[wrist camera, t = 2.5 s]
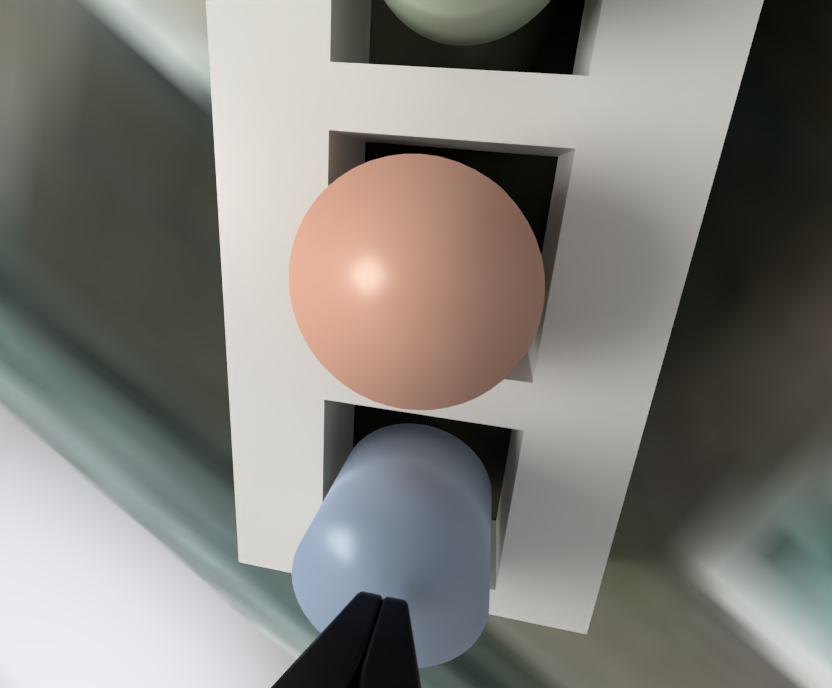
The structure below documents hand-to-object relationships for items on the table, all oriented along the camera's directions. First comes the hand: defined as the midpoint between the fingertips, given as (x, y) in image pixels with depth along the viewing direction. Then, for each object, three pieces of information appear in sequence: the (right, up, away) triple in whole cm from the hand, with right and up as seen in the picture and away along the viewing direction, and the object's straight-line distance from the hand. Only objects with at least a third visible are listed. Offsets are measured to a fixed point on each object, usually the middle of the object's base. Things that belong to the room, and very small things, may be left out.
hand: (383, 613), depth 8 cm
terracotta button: (+1, +6, +1) cm, 6 cm away
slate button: (+1, +1, +3) cm, 3 cm away
